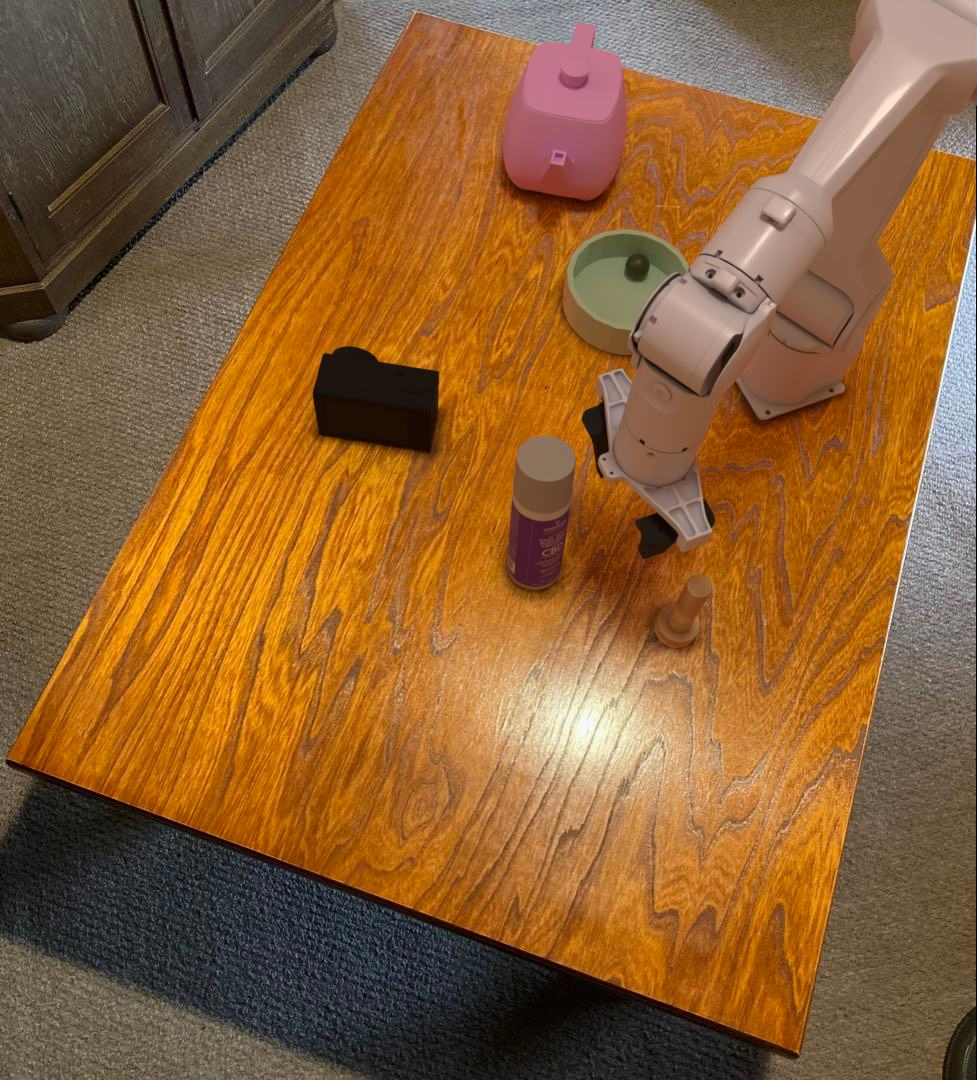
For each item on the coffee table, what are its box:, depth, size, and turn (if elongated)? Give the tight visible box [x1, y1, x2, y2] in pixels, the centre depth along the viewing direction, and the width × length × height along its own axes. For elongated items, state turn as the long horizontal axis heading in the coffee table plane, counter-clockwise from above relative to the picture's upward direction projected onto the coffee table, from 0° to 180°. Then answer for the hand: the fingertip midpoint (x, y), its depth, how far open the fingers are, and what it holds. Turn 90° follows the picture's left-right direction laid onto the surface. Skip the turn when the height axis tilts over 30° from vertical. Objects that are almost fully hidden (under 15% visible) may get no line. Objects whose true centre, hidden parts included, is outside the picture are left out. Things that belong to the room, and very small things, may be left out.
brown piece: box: [653, 574, 713, 649], centre depth 88 cm, size 4×4×9 cm
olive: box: [625, 253, 650, 278], centre depth 106 cm, size 2×2×2 cm
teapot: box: [502, 21, 628, 202], centre depth 108 cm, size 20×12×13 cm, turn 169°
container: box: [506, 435, 577, 590], centre depth 87 cm, size 5×5×15 cm
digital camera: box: [312, 345, 440, 453], centre depth 96 cm, size 10×5×7 cm, turn 81°
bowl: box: [562, 228, 690, 356], centre depth 105 cm, size 12×12×4 cm
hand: (630, 511), depth 85 cm, fingers open, 7 cm apart
